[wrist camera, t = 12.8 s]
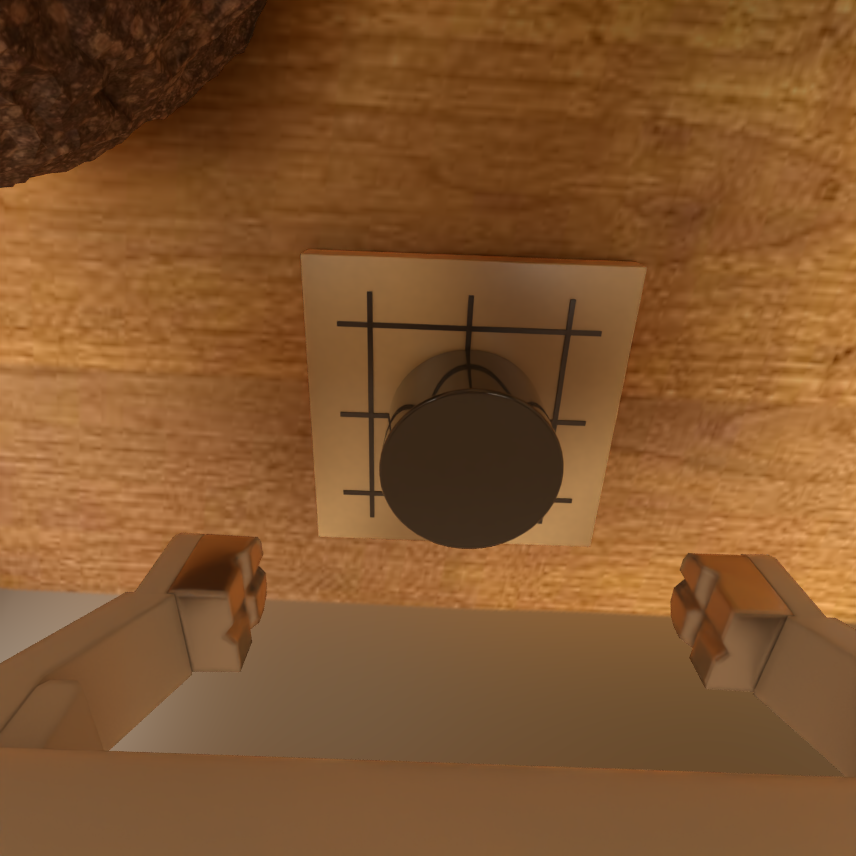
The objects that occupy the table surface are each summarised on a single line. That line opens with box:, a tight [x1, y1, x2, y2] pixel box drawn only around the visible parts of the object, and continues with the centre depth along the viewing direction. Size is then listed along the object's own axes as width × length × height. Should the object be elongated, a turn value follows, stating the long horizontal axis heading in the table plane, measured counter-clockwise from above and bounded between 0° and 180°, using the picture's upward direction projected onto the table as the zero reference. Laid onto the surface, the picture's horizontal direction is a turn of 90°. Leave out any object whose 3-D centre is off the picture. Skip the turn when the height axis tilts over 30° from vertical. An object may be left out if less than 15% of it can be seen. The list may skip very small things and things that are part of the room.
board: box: [300, 249, 647, 547], centre depth 18 cm, size 10×10×1 cm
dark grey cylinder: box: [379, 349, 564, 549], centre depth 16 cm, size 5×5×3 cm
